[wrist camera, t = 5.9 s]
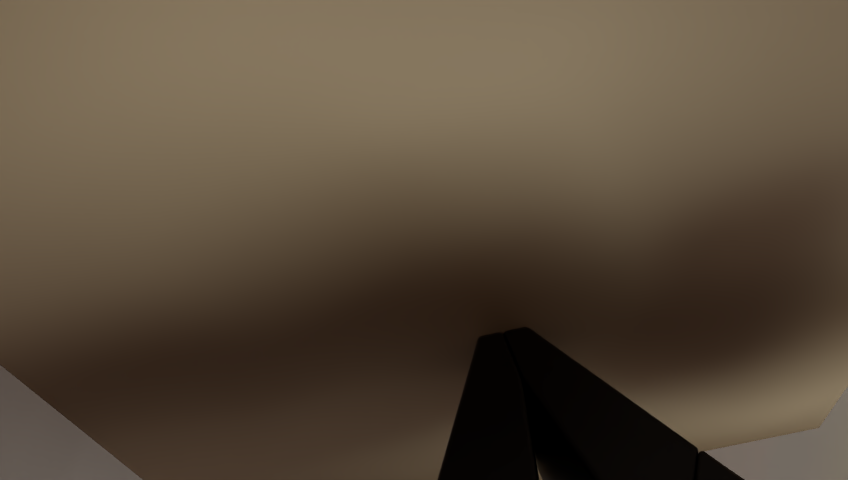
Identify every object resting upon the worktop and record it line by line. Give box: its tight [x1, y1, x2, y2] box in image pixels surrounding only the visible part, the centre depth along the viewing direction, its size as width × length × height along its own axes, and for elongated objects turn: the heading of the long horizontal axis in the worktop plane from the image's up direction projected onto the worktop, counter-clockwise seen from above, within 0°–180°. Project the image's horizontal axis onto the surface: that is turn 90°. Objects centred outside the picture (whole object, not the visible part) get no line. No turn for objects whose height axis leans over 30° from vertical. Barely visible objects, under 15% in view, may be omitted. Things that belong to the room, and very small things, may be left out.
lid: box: [0, 0, 848, 480], centre depth 9 cm, size 12×14×1 cm
